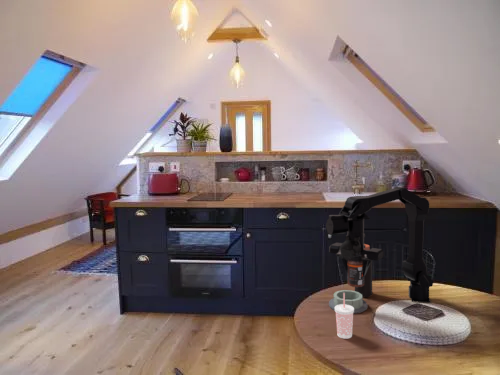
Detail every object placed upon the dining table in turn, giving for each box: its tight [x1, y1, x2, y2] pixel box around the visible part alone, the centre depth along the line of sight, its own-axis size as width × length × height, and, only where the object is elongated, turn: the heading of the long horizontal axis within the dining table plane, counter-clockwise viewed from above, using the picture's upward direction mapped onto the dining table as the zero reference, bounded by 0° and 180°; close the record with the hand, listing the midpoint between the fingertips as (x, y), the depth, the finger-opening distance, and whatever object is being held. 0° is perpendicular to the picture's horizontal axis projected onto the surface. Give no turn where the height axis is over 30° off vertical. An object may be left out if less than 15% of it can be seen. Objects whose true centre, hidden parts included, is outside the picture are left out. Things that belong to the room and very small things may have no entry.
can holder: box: [328, 289, 368, 315], centre depth 148 cm, size 14×14×4 cm
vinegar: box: [354, 243, 373, 298], centre depth 157 cm, size 7×7×20 cm
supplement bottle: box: [346, 254, 364, 288], centre depth 143 cm, size 6×6×11 cm
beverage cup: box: [334, 293, 354, 339], centre depth 125 cm, size 6×6×14 cm
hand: (355, 274), depth 143 cm, fingers closed on supplement bottle, 6 cm apart
